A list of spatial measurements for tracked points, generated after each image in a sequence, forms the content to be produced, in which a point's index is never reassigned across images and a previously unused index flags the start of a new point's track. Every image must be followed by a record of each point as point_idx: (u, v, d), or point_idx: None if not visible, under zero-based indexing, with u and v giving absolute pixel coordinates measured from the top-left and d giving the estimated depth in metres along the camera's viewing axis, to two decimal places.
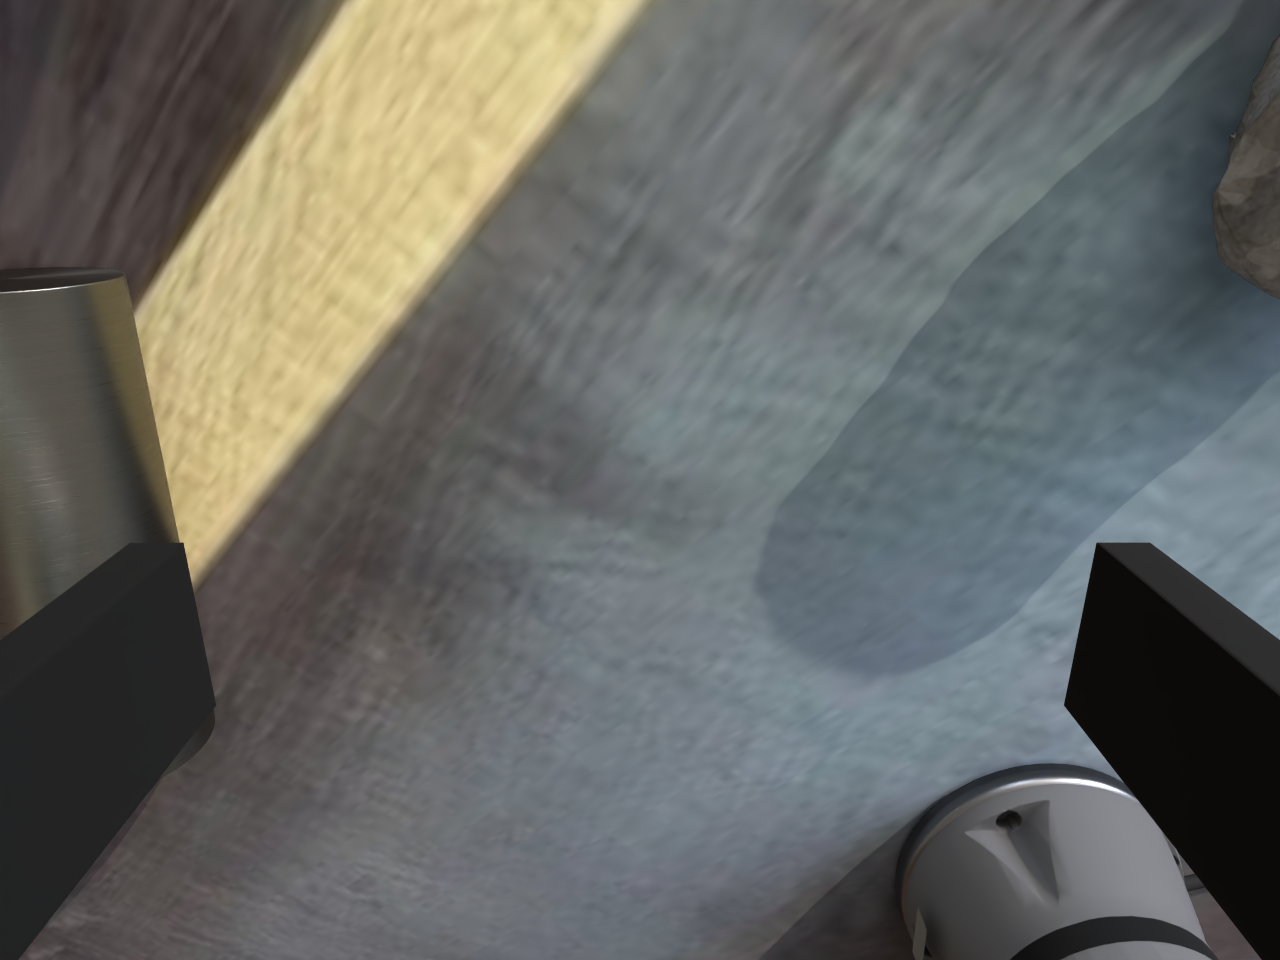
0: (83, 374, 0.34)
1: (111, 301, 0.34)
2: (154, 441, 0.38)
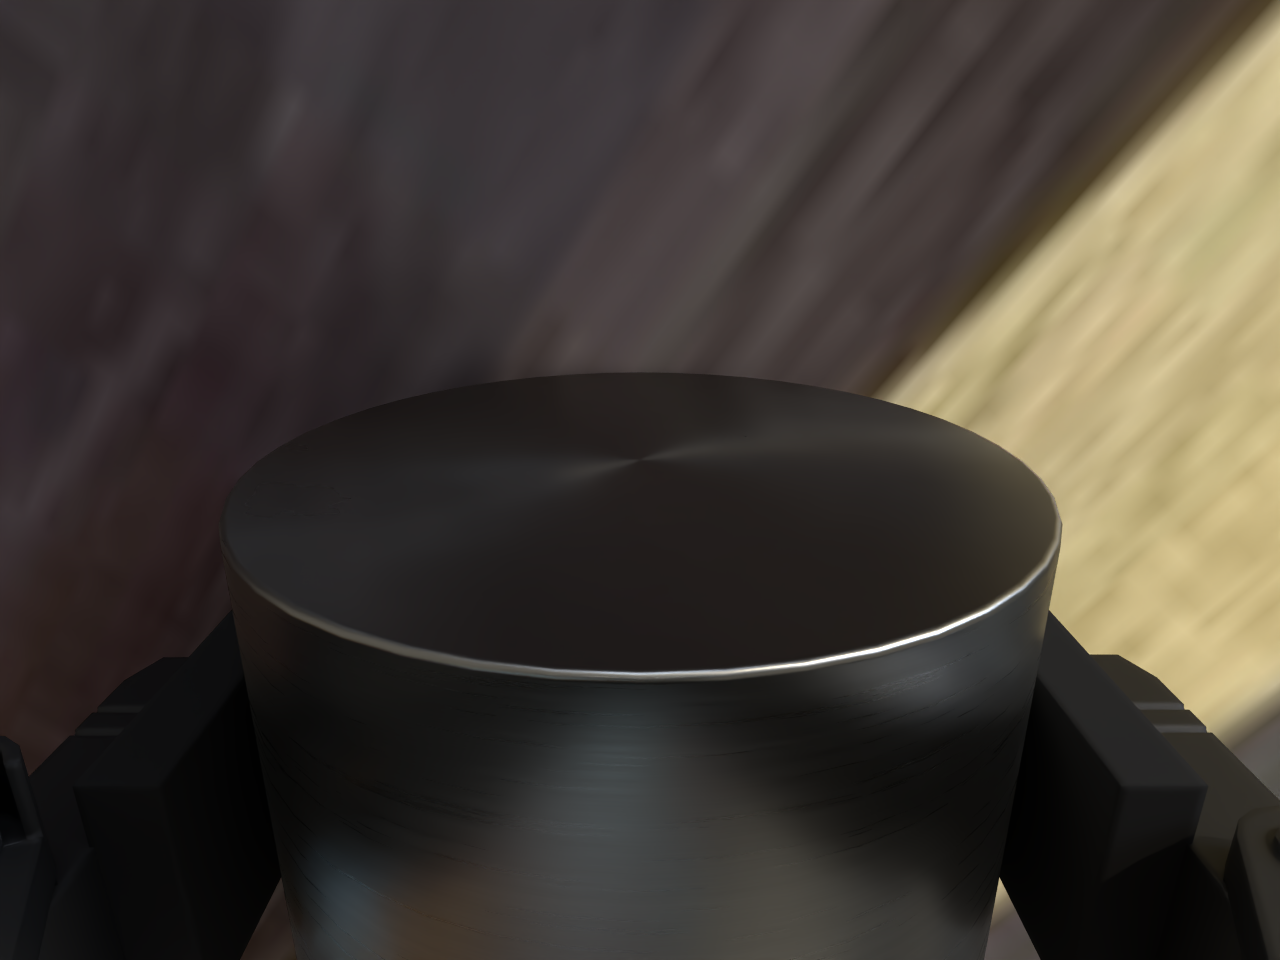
0: None
1: None
2: None
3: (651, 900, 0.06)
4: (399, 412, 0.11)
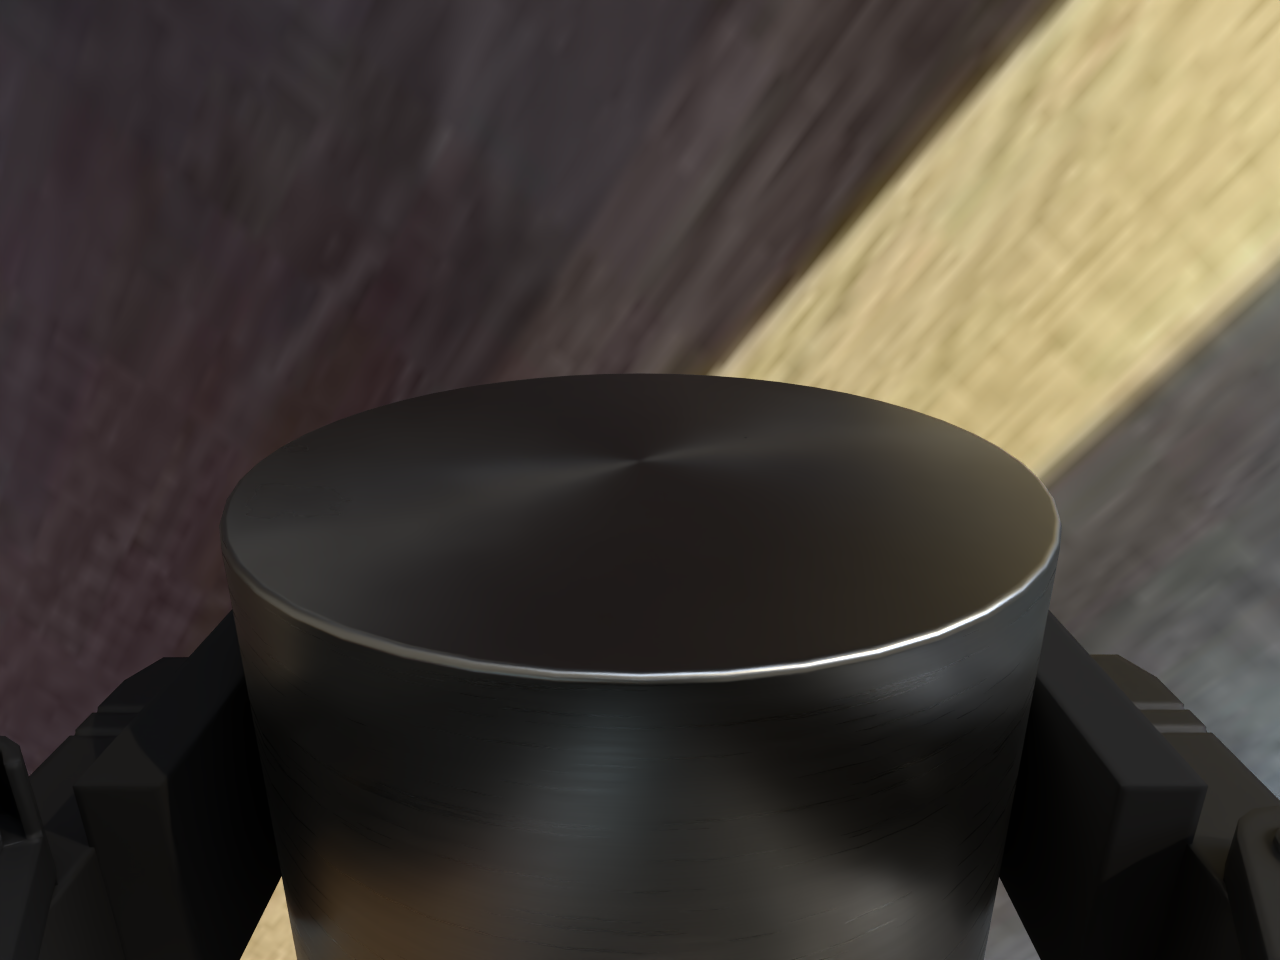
0: None
1: None
2: None
3: (651, 900, 0.06)
4: (399, 413, 0.11)
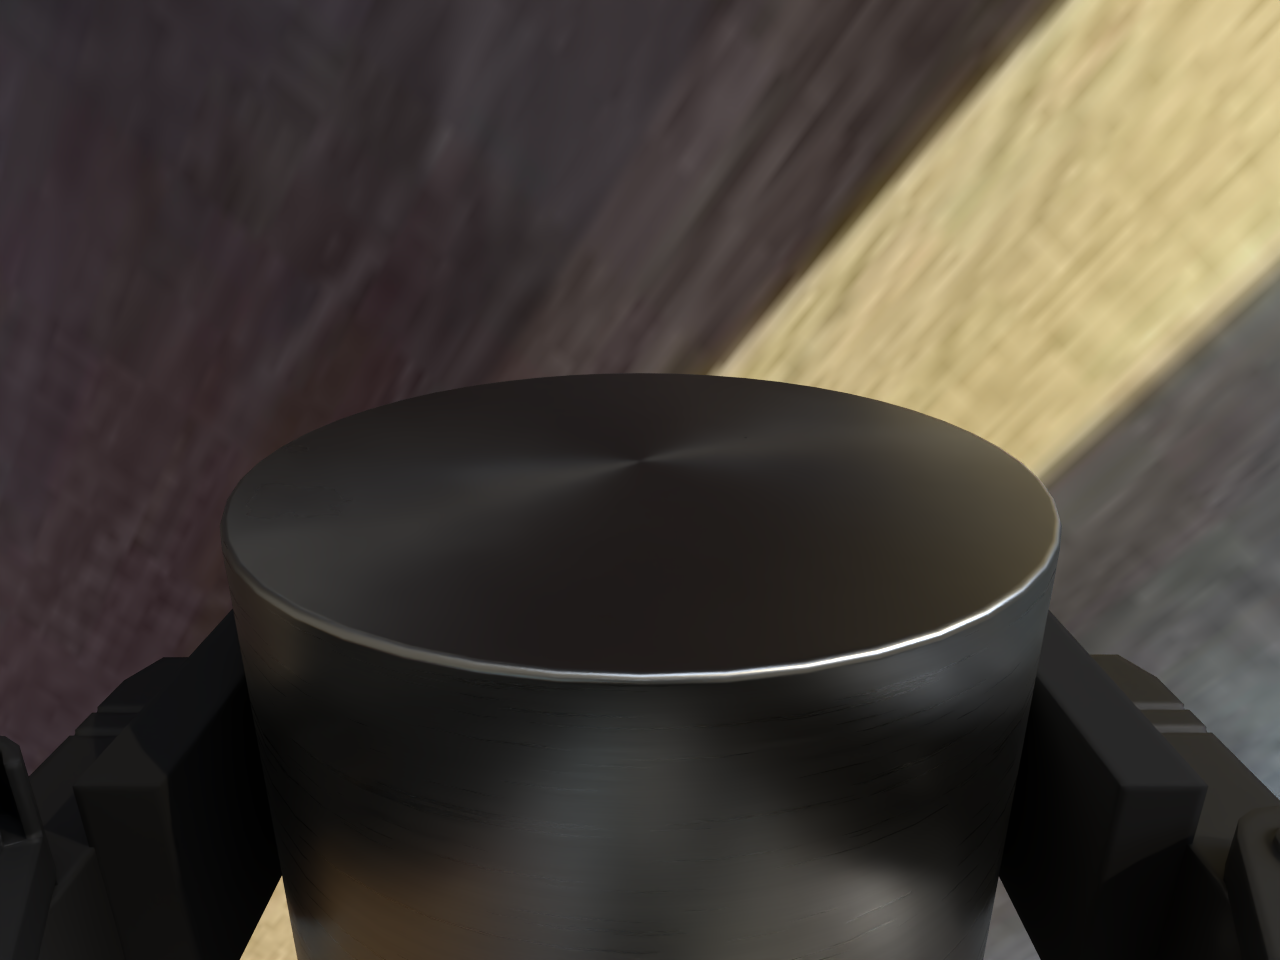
0: (1003, 848, 0.09)
1: None
2: None
3: (652, 901, 0.06)
4: (399, 413, 0.11)
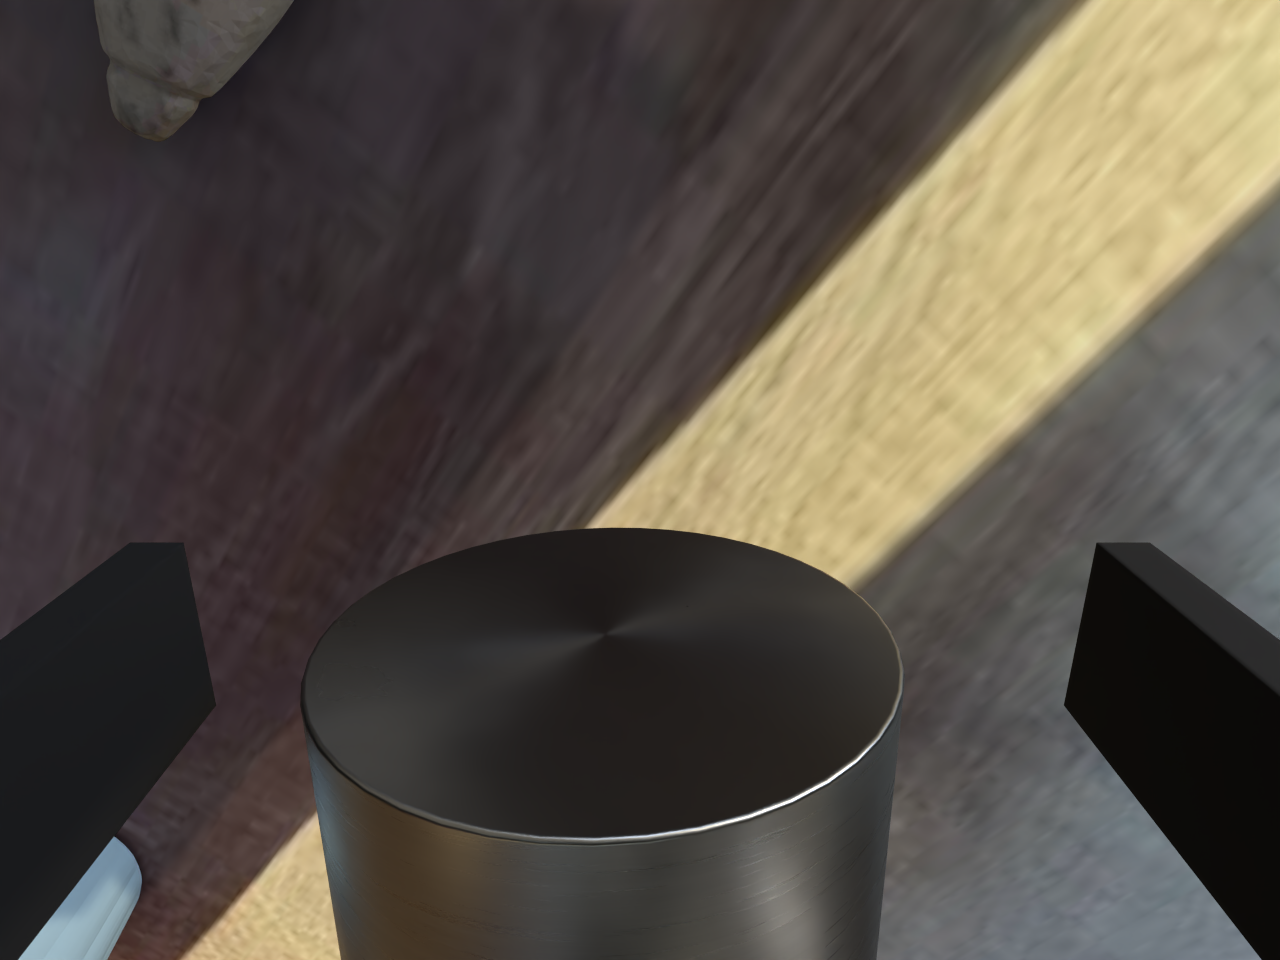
0: (874, 927, 0.12)
1: None
2: None
3: None
4: (421, 580, 0.14)
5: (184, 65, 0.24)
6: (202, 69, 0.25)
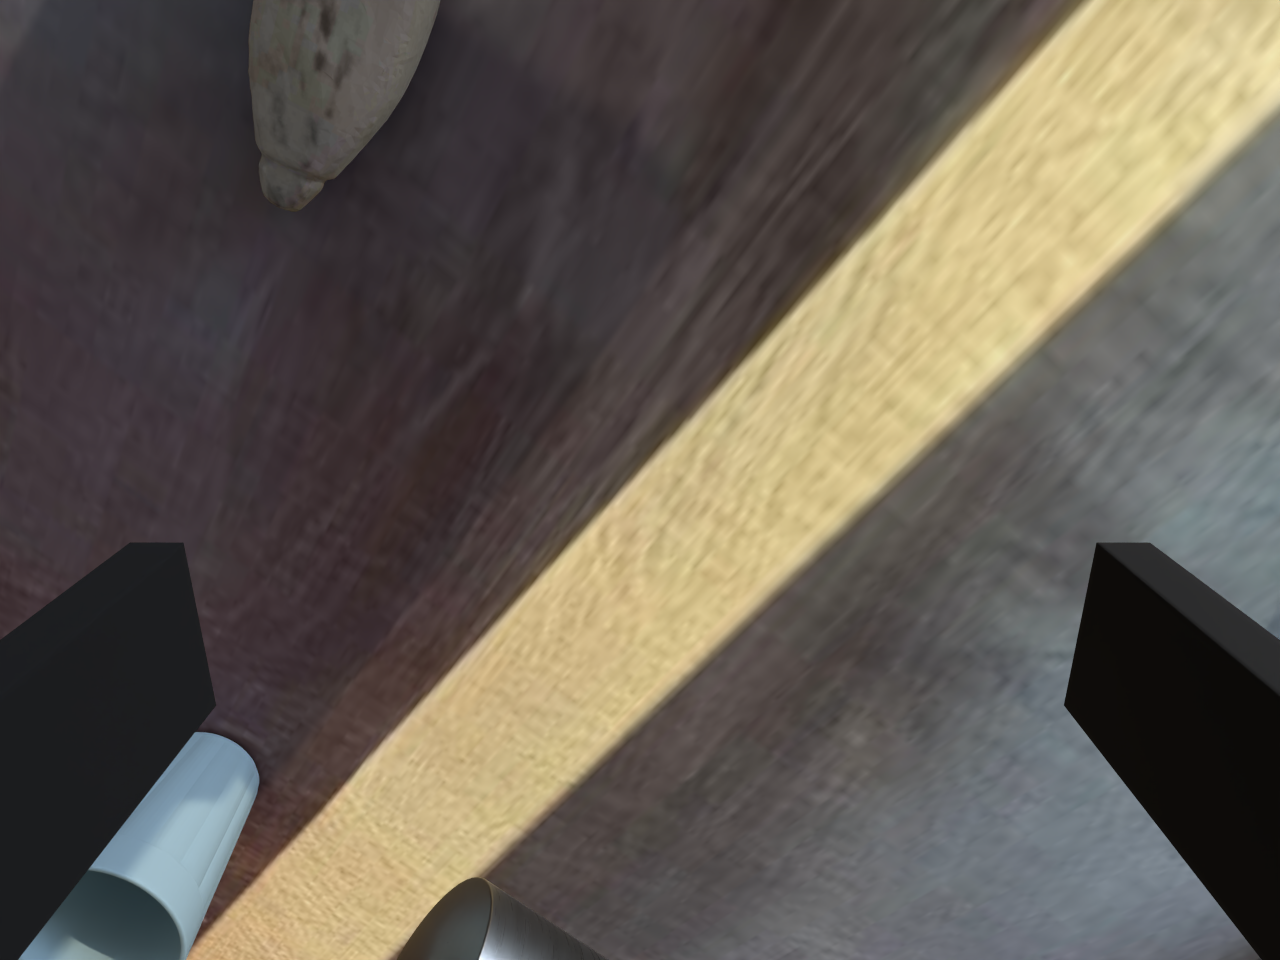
0: None
1: (506, 933, 0.33)
2: None
3: None
4: None
5: (318, 159, 0.33)
6: (331, 162, 0.33)
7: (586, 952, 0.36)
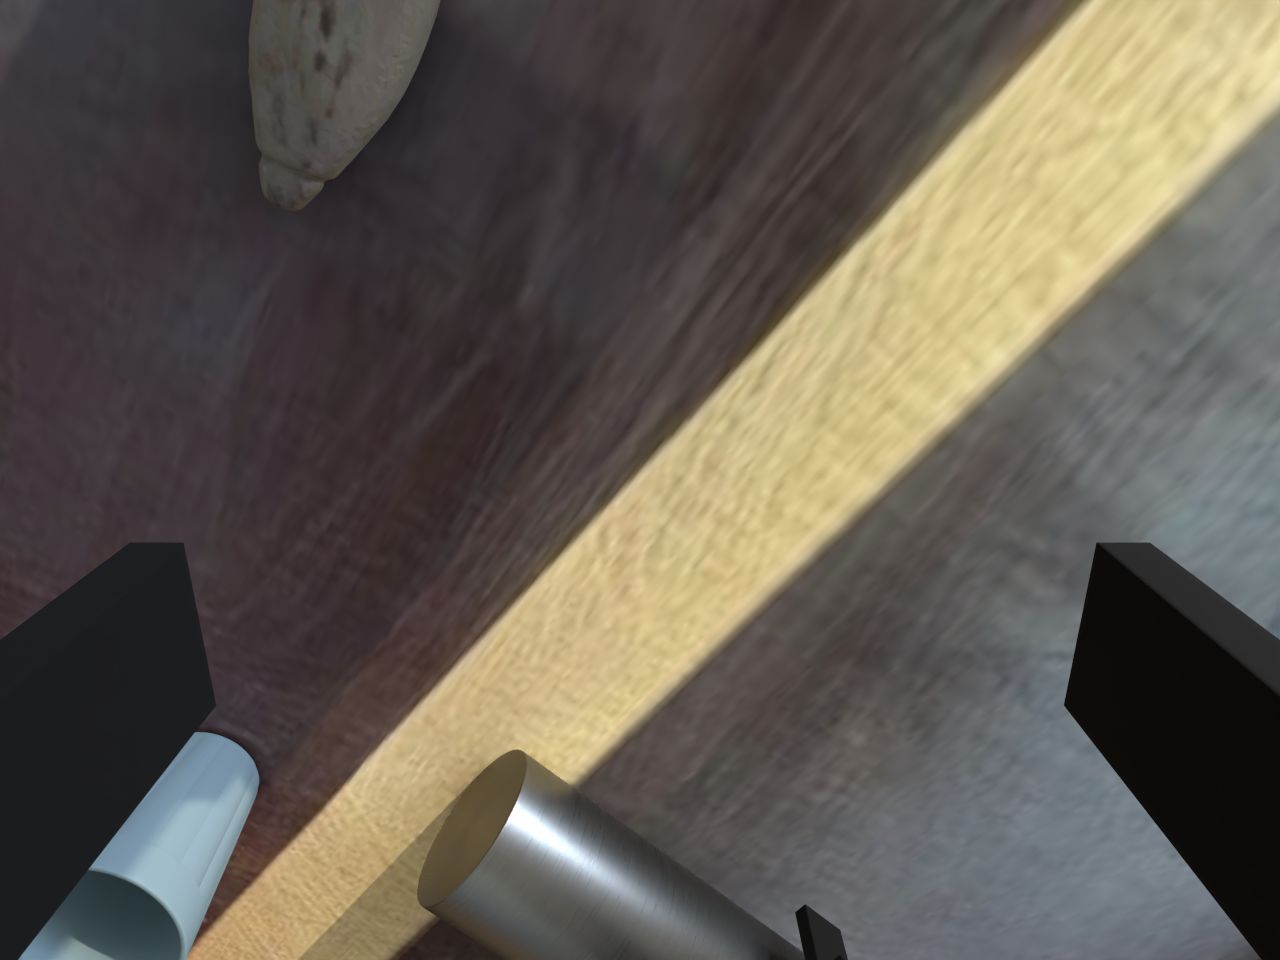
0: (567, 848, 0.40)
1: (538, 784, 0.41)
2: (633, 837, 0.44)
3: (488, 911, 0.39)
4: (441, 833, 0.45)
5: (318, 159, 0.33)
6: (331, 162, 0.33)
7: (602, 810, 0.44)
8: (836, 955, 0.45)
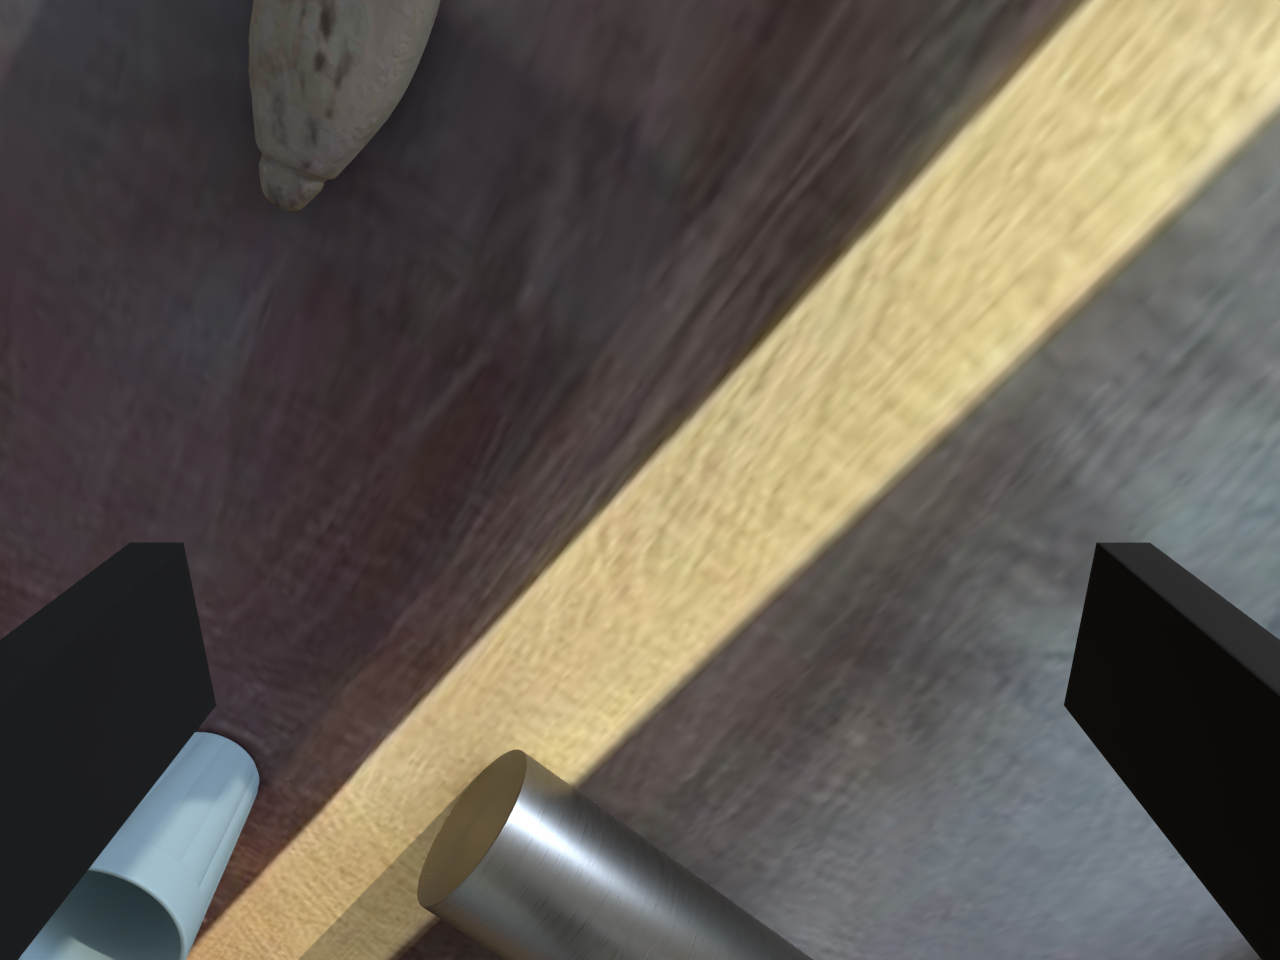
0: (567, 848, 0.40)
1: (538, 784, 0.41)
2: (633, 837, 0.44)
3: (488, 911, 0.39)
4: (441, 833, 0.45)
5: (318, 159, 0.33)
6: (331, 162, 0.33)
7: (602, 810, 0.44)
8: None
